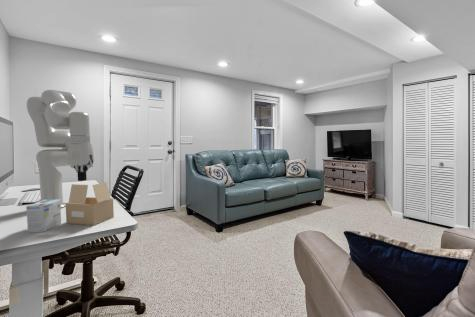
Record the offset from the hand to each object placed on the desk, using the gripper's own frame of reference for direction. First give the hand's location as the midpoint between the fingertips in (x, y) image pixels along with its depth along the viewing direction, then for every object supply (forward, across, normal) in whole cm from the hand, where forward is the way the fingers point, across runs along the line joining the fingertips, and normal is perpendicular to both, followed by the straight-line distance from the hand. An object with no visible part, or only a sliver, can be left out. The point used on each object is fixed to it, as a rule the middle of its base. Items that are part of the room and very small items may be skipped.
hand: (82, 180), depth 110 cm
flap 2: (+5, +10, 0) cm, 11 cm away
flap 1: (+5, +2, -5) cm, 7 cm away
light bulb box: (+18, -8, -12) cm, 23 cm away
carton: (+18, +3, 0) cm, 18 cm away
